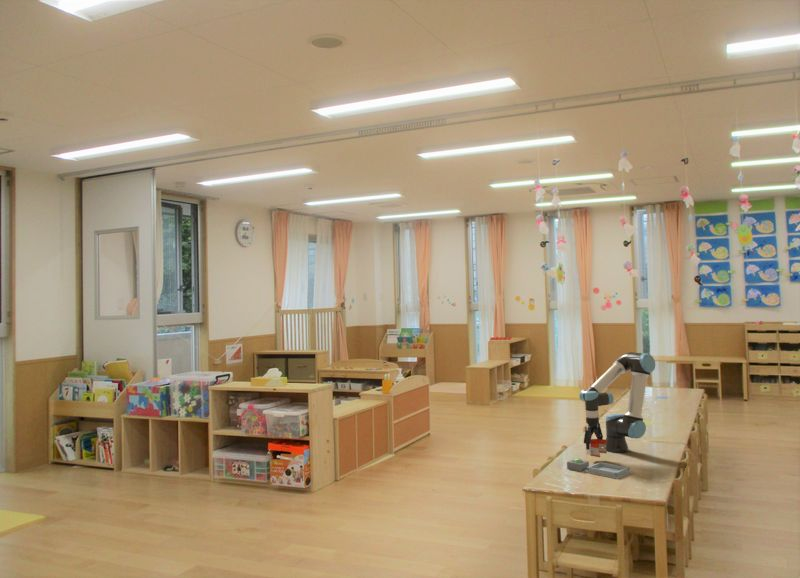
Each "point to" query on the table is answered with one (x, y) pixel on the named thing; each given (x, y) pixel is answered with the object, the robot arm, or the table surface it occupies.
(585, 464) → the grey square holder
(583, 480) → the table surface
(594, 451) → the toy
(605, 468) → the grey tray
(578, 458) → the button
